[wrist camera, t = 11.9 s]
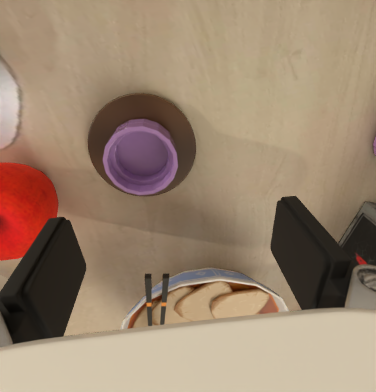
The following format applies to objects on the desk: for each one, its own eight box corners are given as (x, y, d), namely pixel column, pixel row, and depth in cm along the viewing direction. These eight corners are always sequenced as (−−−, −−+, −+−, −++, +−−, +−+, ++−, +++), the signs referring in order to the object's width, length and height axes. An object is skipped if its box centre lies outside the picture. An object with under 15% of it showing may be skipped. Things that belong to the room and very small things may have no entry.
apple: (-24, 137, 25) (-93, 170, 18) (72, 156, 26) (41, 192, 20) (-12, 212, 29) (-66, 262, 22) (69, 224, 30) (43, 273, 24)
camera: (330, 287, 41) (375, 350, 33) (309, 286, 41) (349, 349, 32) (389, 204, 34) (467, 257, 25) (363, 200, 33) (436, 253, 24)
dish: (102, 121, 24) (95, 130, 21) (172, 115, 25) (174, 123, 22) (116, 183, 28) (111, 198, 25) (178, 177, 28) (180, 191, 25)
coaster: (76, 97, 24) (74, 98, 23) (192, 88, 24) (193, 89, 24) (103, 198, 29) (102, 201, 29) (197, 189, 30) (197, 191, 29)
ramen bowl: (251, 338, 47) (267, 389, 40) (125, 343, 44) (118, 399, 37) (292, 231, 34) (326, 277, 27) (120, 227, 31) (109, 278, 24)
